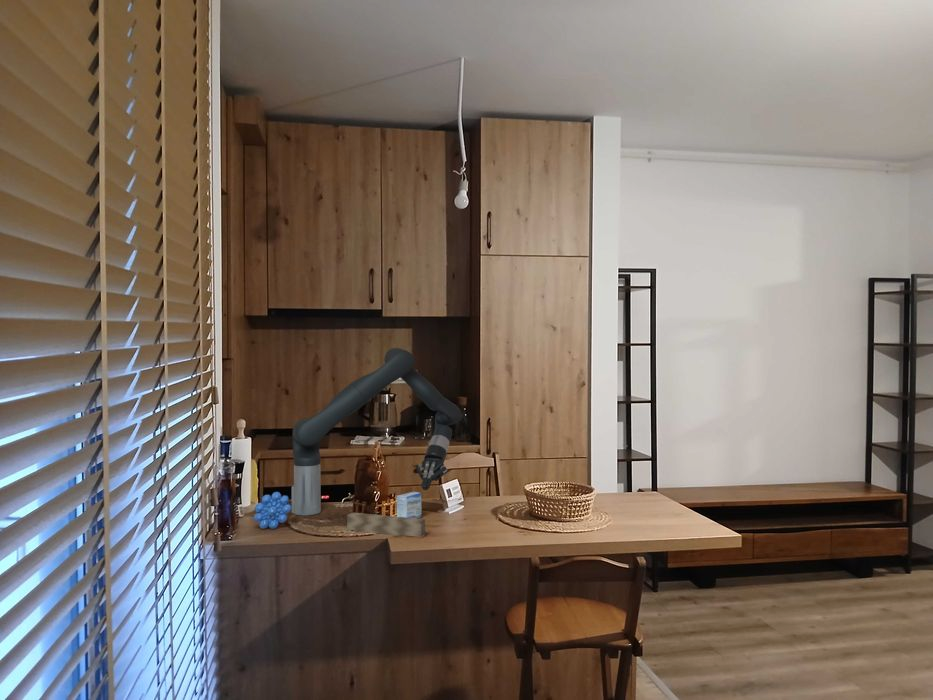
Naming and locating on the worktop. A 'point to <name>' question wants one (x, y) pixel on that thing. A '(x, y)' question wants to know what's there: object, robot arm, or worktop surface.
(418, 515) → the medicine box
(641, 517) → the worktop surface
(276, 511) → the blue bumpy cluster
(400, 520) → the mottled grey bar
